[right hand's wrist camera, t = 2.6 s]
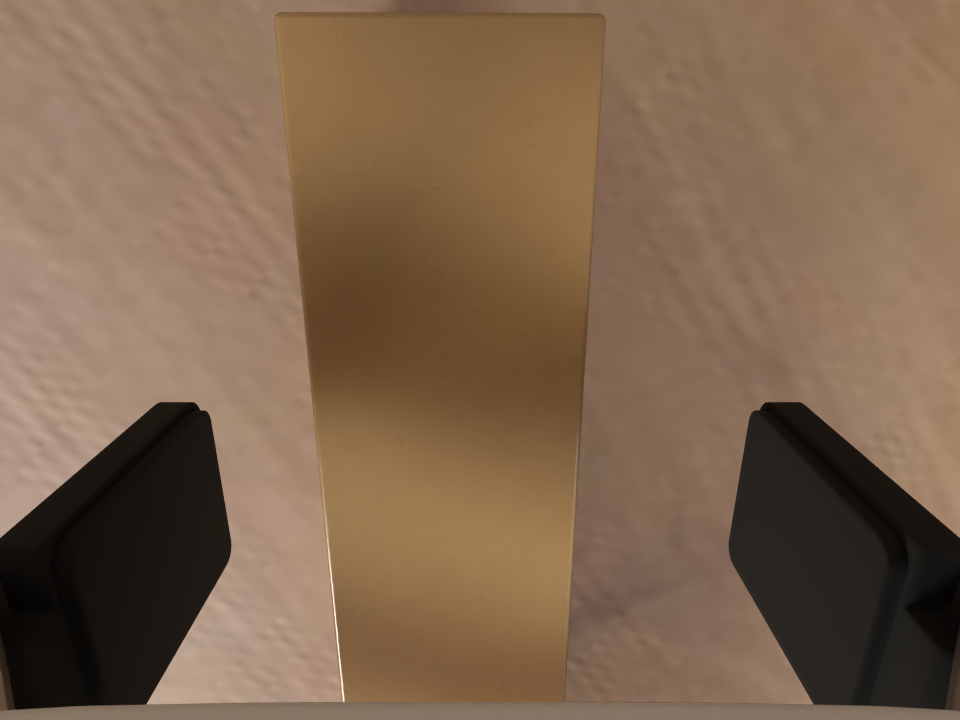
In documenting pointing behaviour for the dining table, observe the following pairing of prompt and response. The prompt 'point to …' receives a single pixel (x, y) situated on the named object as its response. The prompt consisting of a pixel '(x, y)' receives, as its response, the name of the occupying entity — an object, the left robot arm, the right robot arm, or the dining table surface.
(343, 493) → the bar
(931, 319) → the dining table surface
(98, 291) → the dining table surface
